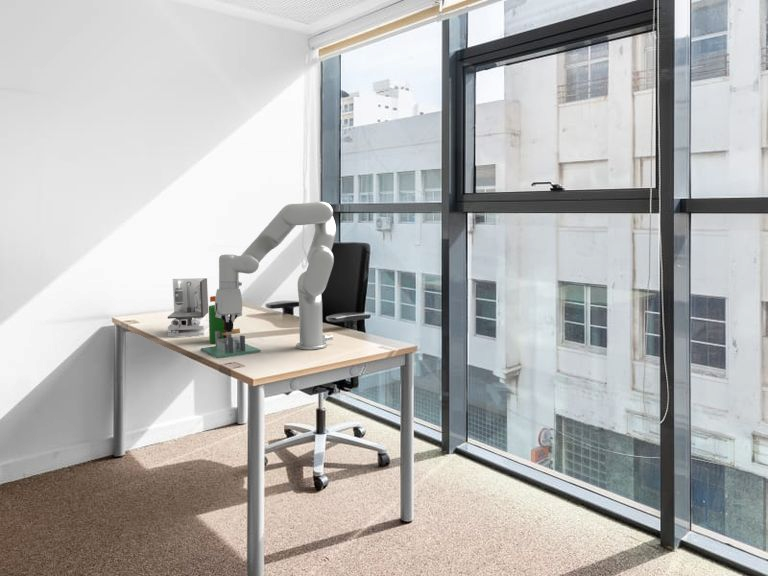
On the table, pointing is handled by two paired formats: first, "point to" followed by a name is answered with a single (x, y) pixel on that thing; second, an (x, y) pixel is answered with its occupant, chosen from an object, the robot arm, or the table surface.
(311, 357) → the table surface
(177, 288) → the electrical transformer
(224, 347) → the heat sink
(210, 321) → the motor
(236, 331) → the strap
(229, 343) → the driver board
